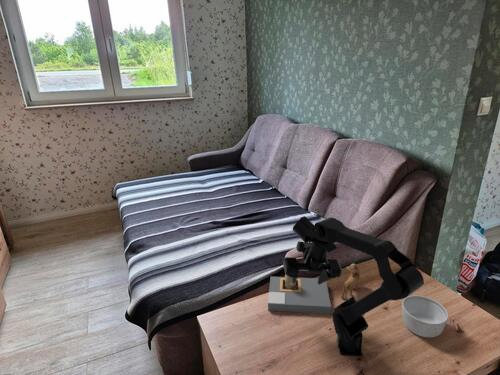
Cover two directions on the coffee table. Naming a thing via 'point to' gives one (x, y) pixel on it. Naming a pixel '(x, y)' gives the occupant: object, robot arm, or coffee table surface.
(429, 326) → the ramekin
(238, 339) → the coffee table surface
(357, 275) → the lion figurine
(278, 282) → the gray peg hole board
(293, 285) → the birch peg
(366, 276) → the coffee table surface
